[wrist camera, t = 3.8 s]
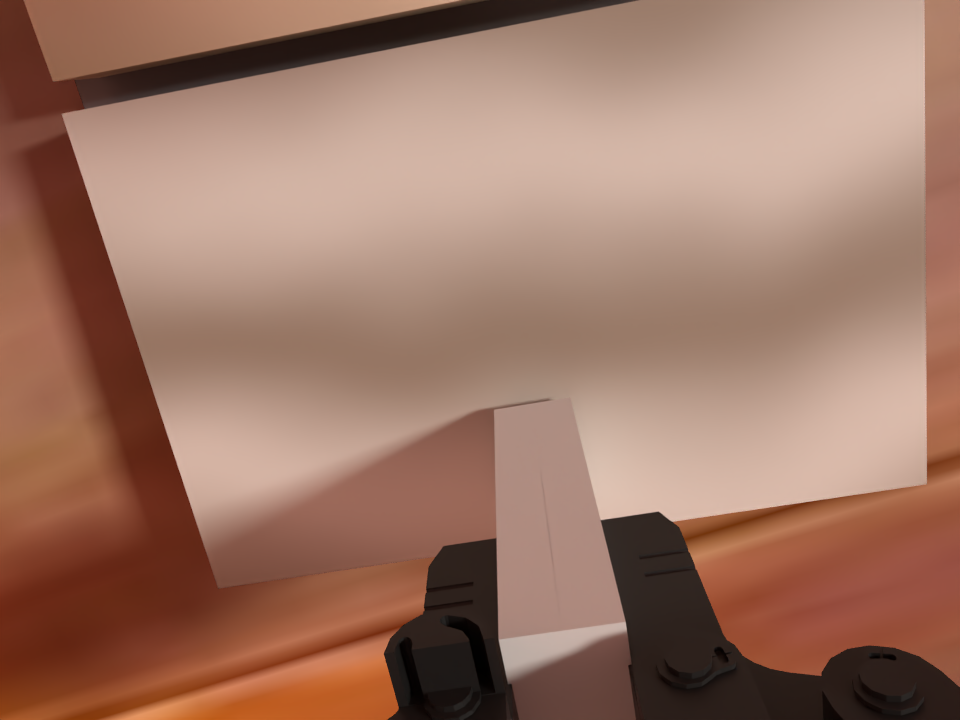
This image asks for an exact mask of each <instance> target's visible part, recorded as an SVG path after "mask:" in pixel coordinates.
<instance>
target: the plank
mask: <svg viewBox="0 0 960 720" xmlns="http://www.w3.org/2000/svg"><path fill="white" fill-rule="evenodd" d="M62 117H63V120H64V123H65V126H66V129H67V132H68V135H69V138H70V141H71V144H72V147H73V150H74V153H75V156H76V159H77V162H78V165H79V168H80V171H81V174H82V177H83V180H84V183H85V186H86V189H87V192H88V195H89V198H90V201H91V205H92V208H93V211H94V214H95V217H96V220H97V223H98V226H99V229H100V232H101V235H102V238H103V241H104V244H105V247H106V250H107V253H108V256H109V259H110V262H111V265H112V268H113V271H114V274H115V277H116V280H117V283H118V286H119V289H120V292H121V295H122V299H123V302H124V305H125V308H126V311H127V314H128V317H129V320H130V323H131V326H132V329H133V332H134V335H135V338H136V341H137V344H138V347H139V350H140V353H141V356H142V359H143V362H144V365H145V368H146V371H147V374H148V377H149V380H150V383H151V386H152V389H153V393H154V396H155V399H156V402H157V405H158V408H159V411H160V414H161V417H162V420H163V423H164V426H165V429H166V432H167V435H168V438H169V441H170V444H171V447H172V450H173V453H174V456H175V459H176V462H177V465H178V468H179V471H180V474H181V477H182V480H183V483H184V487H185V490H186V493H187V496H188V499H189V502H190V505H191V508H192V511H193V514H194V517H195V520H196V523H197V526H198V529H199V532H200V535H201V538H202V541H203V544H204V547H205V550H206V553H207V556H208V559H209V562H210V565H211V568H212V571H213V574H214V577H215V581H216V584H217V587H218V589H219V588H226V587H233V586H239V585H246V584H253V583H260V582H267V581H273V580H280V579H287V578H294V577H300V576H307V575H314V574H321V573H328V572H334V571H341V570H348V569H355V568H361V567H368V566H375V565H382V564H389V563H395V562H402V561H409V560H416V559H422V558H429V557H436V556H437V554H438V553H439V551H440V550H441V549H442V547H443V546H447V545H453V544H460V543H467V542H473V541H480V540H487V539H493V538H497V536H496V486H495V436H494V410H495V409H501V408H508V407H514V406H520V405H526V404H532V403H539V402H545V401H551V400H557V399H563V398H569V397H570V399H571V403H572V407H573V411H574V415H575V419H576V423H577V427H578V431H579V435H580V439H581V443H582V447H583V451H584V455H585V459H586V463H587V467H588V471H589V476H590V480H591V484H592V488H593V492H594V496H595V500H596V504H597V508H598V512H599V516H600V520H605V519H612V518H618V517H625V516H632V515H638V514H645V513H652V512H658V511H659V512H660V513H661V514H663V515H664V516H665V517H666V518H668V519H669V520H670V521H672V522H673V521H680V520H687V519H694V518H700V517H707V516H714V515H721V514H727V513H734V512H741V511H748V510H755V509H761V508H768V507H775V506H782V505H788V504H795V503H802V502H809V501H816V500H822V499H829V498H836V497H843V496H849V495H856V494H863V493H870V492H877V491H883V490H890V489H897V488H904V487H910V486H917V485H924V484H927V425H926V226H925V27H924V0H638V1H633V2H628V3H623V4H618V5H613V6H607V7H602V8H597V9H592V10H587V11H582V12H577V13H572V14H567V15H562V16H557V17H552V18H546V19H541V20H536V21H531V22H526V23H521V24H516V25H511V26H506V27H501V28H496V29H490V30H485V31H480V32H475V33H470V34H465V35H460V36H455V37H450V38H445V39H440V40H435V41H429V42H424V43H419V44H414V45H409V46H404V47H399V48H394V49H389V50H384V51H379V52H373V53H368V54H363V55H358V56H353V57H348V58H343V59H338V60H333V61H328V62H323V63H318V64H312V65H307V66H302V67H297V68H292V69H287V70H282V71H277V72H272V73H267V74H262V75H257V76H251V77H246V78H241V79H236V80H231V81H226V82H221V83H216V84H211V85H206V86H201V87H195V88H190V89H185V90H180V91H175V92H170V93H165V94H160V95H155V96H150V97H145V98H140V99H134V100H129V101H124V102H119V103H114V104H109V105H104V106H99V107H94V108H89V109H84V110H79V111H73V112H68V113H63V114H62Z"/></svg>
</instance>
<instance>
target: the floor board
mask: <svg viewBox="0 0 960 720" xmlns="http://www.w3.org/2000/svg"><path fill="white" fill-rule="evenodd" d="M633 1H638V0H24V3H25V6H26V8H27V11H28V14H29V17H30V20H31V22H32V25H33V28H34V31H35V33H36V36H37V39H38V42H39V44H40V47H41V50H42V53H43V56H44V58H45V61H46V64H47V67H48V69H49V72H50V75H51V78H52V81H53V82H56V81H68V80H75V83H76V86H77V88H78V91H79V94H80V97H81V100H82V103H83V106H84V108H85V109H89V108H94V107H99V106H104V105H109V104H114V103H119V102H124V101H129V100H134V99H140V98H145V97H150V96H155V95H160V94H165V93H170V92H175V91H180V90H185V89H190V88H195V87H201V86H206V85H211V84H216V83H221V82H226V81H231V80H236V79H241V78H246V77H251V76H257V75H262V74H267V73H272V72H277V71H282V70H287V69H292V68H297V67H302V66H307V65H312V64H318V63H323V62H328V61H333V60H338V59H343V58H348V57H353V56H358V55H363V54H368V53H373V52H379V51H384V50H389V49H394V48H399V47H404V46H409V45H414V44H419V43H424V42H429V41H435V40H440V39H445V38H450V37H455V36H460V35H465V34H470V33H475V32H480V31H485V30H490V29H496V28H501V27H506V26H511V25H516V24H521V23H526V22H531V21H536V20H541V19H546V18H552V17H557V16H562V15H567V14H572V13H577V12H582V11H587V10H592V9H597V8H602V7H607V6H613V5H618V4H623V3H628V2H633Z"/></svg>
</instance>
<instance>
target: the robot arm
mask: <svg viewBox="0 0 960 720" xmlns="http://www.w3.org/2000/svg"><path fill="white" fill-rule="evenodd" d="M494 436H495V486H496V536H497V538H493V539H487V540H480V541H473V542H467V543H460V544H453V545H447V546H443V547H442V549H441V550H440V551H439V553H438V554H437V556H436V557H435V559H434V560H433V561H432V563H431V564H430V566H429V569H428V578H427V586H426V590H427V593H426V595H425V604H424V609H425V611H424V612H423V615H420V616H419V617H417V618H415V619H413V620H412V621H410V622H408V623H406V624H404V625H403V626H402V627H401V628H400V629H399V630H398V631H397V632H396V633H395V634H394V635H393V636H392V637H391V638H390V641H389V643H388V645H387V648H386V650H385V652H384V656H385V659H386V663H387V667H388V670H389V674H390V677H391V681H392V684H393V688H394V692H395V695H396V699H397V702H398V706H399V710H398V711H397V712H396V714H394V715H393V716H392V717H390V718H389V719H388V720H960V687H959V686H957V685H956V684H955V683H954V682H953V681H952V680H951V679H949V678H948V677H947V676H946V675H945V674H944V673H943V672H941V671H940V670H939V669H937V668H936V667H934V666H933V665H931V664H930V663H928V662H927V661H925V660H924V659H922V658H921V657H919V656H916V655H913V654H910V653H907V652H905V651H902V650H899V649H896V648H890V647H879V646H863V647H857V648H851V649H847V650H845V651H843V652H841V653H839V654H838V655H836V656H834V657H832V658H831V659H830V660H829V662H828V663H827V665H826V666H825V668H824V670H823V671H822V676H815V675H806V674H797V673H788V672H783V671H778V670H773V669H769V668H767V667H764V666H761V665H759V664H756V663H753V662H752V661H750V660H749V659H747V658H745V657H744V656H742V654H741V653H740V652H739V650H738V649H737V648H736V646H735V645H734V644H732V643H730V642H729V641H727V640H726V638H725V636H724V635H723V633H722V631H721V628H720V626H719V623H718V621H717V618H716V616H715V613H714V611H713V609H712V606H711V604H710V601H709V599H708V596H707V594H706V592H705V589H704V587H703V584H702V582H701V579H700V577H699V575H698V572H697V570H696V569H695V565H694V562H693V560H692V558H691V555H690V553H689V552H688V548H687V545H686V543H685V541H684V538H683V536H682V533H681V531H680V528H679V527H678V526H677V525H675V524H674V523H673V522H672V521H670V520H669V519H668V518H666V517H665V516H664V515H663V514H661V513H660V512H659V511H658V512H652V513H645V514H638V515H632V516H625V517H618V518H612V519H605V520H600V516H599V512H598V508H597V504H596V500H595V496H594V492H593V488H592V484H591V480H590V476H589V471H588V467H587V463H586V459H585V455H584V451H583V447H582V443H581V439H580V435H579V431H578V427H577V423H576V419H575V415H574V411H573V407H572V403H571V399H570V397H569V398H563V399H557V400H551V401H545V402H539V403H532V404H526V405H520V406H514V407H508V408H501V409H495V410H494Z"/></svg>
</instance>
